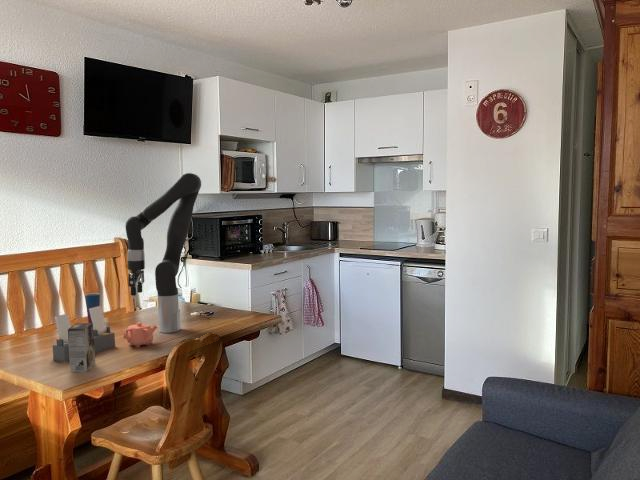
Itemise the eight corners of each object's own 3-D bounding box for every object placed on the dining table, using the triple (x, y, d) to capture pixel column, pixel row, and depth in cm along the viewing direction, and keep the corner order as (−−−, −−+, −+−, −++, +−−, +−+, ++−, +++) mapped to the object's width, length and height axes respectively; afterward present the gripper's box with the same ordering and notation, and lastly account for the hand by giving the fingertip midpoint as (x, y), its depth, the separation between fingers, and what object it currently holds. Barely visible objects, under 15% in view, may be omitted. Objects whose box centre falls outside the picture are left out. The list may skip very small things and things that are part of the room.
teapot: (158, 341, 237) (157, 319, 236) (148, 348, 225) (147, 325, 224) (132, 341, 237) (131, 319, 237) (121, 348, 225) (120, 325, 225)
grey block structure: (53, 359, 211) (52, 338, 211) (103, 344, 233) (102, 325, 232) (65, 362, 208) (63, 340, 207) (115, 346, 229) (114, 326, 228)
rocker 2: (95, 334, 225) (88, 308, 225) (104, 331, 229) (98, 306, 230) (97, 334, 224) (91, 308, 225) (107, 331, 229) (101, 305, 229)
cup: (104, 322, 273) (102, 293, 271) (94, 326, 266) (93, 296, 265) (93, 322, 275) (91, 293, 274) (83, 325, 269) (81, 295, 267)
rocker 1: (60, 344, 211) (54, 316, 211) (71, 341, 215) (65, 314, 216) (63, 343, 210) (56, 315, 211) (74, 340, 214) (68, 313, 215)
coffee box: (78, 364, 205) (76, 322, 204) (95, 363, 205) (93, 322, 204) (69, 372, 196) (66, 328, 194) (87, 371, 196) (85, 328, 195)
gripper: (138, 260, 243) (139, 296, 244) (149, 257, 257) (149, 291, 258) (122, 260, 243) (123, 296, 244) (133, 257, 257) (134, 291, 258)
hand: (136, 293), depth 251 cm, fingers open, 8 cm apart
